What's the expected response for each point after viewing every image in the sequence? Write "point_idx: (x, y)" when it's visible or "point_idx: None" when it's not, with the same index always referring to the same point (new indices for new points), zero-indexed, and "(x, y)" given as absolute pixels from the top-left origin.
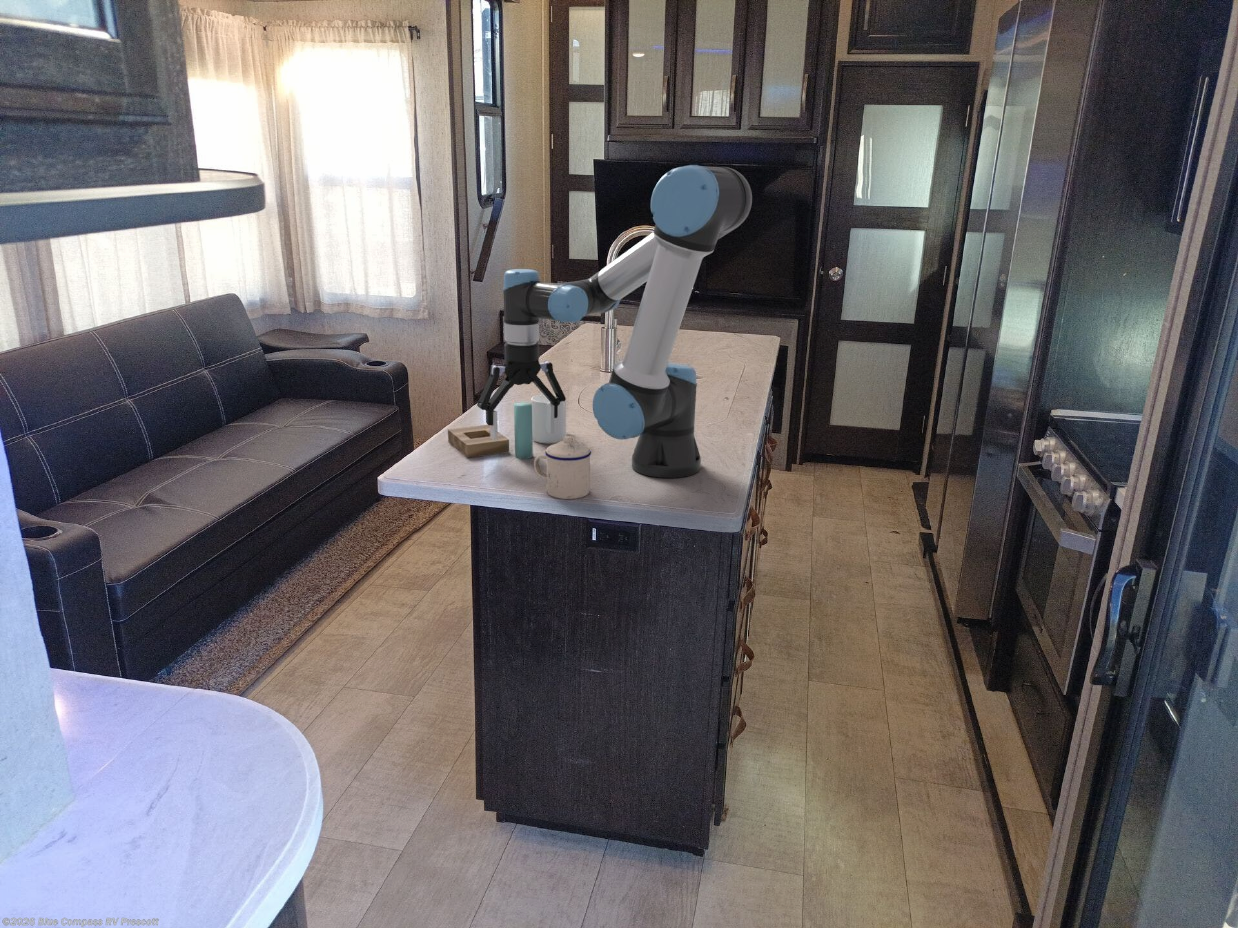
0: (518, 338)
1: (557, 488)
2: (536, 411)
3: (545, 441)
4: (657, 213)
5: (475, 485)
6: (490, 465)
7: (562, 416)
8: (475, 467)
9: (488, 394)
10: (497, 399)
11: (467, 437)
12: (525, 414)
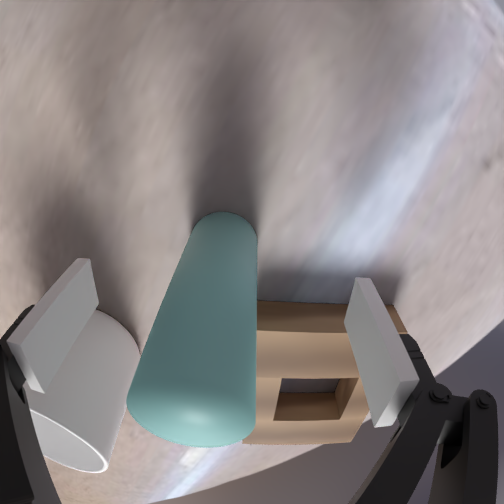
0: None
1: None
2: (103, 415)
3: (111, 321)
4: None
5: (496, 63)
6: (381, 205)
7: None
8: (428, 212)
9: (484, 475)
10: (419, 454)
11: (356, 389)
12: (201, 335)
